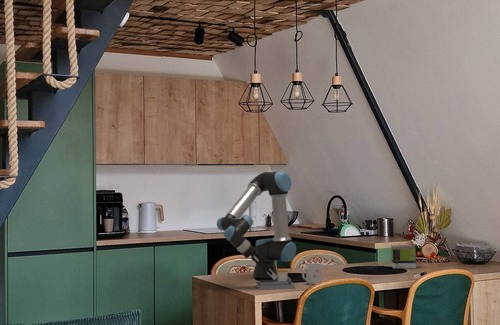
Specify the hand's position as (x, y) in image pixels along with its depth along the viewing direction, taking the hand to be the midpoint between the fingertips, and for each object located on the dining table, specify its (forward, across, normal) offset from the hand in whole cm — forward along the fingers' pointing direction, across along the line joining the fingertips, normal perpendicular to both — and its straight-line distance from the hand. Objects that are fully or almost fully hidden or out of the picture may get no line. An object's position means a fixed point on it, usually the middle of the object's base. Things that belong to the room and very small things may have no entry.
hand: (275, 278), depth 388 cm
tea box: (+70, -59, +64) cm, 112 cm away
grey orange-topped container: (+5, 0, +1) cm, 5 cm away
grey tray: (+3, 0, -4) cm, 5 cm away
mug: (+19, -6, +12) cm, 23 cm away
